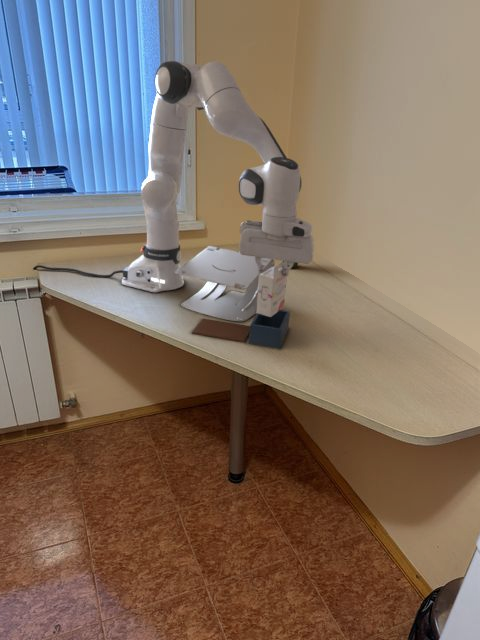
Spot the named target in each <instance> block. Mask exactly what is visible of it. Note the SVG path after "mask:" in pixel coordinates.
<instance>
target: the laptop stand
mask: <svg viewBox="0 0 480 640" xmlns="http://www.w3.org/2000/svg"><path fill="white" fill-rule="evenodd" d="M261 263H262V265H265V268H264V269H265V271H266V270H268V269H270V268H272V267H275V259H268V258H262V259H261ZM258 268H259V267H258V265H257V263H256V261H255V257H254V256H247V255H241V254H240V252H239V250H233V249H229V248H224V247H222V248H221V247H218V246H214V245H208V246H207V247H206V248H204V249H203V250H202V251H200V252H199V253H197V255H195V256H194V257H192V258H191V259H190V260H188V261H187V262H186V263H184V264H183V265H182V266H180V268H179V269H177V270H176V271H175V273H177V274H180V275H182V276H185V277H189V278H193V279H197V280H201V281H205V282H206V283H205V284H204V286H203V287H202V288H201V289H200V290H199V291H197V293H195V294H193V295H192V296H190V297H188V298H187V299H186V300H184V301H182V303H181V307H183V308H185V309H187V310H190V311H193V312H195V313H197V314H201V315H205V316H209V317H213V318H216V319H221V320H226V321H230V322H236V323H240V322H241V323H242V322H247V320H249V319H251V317H253V316H254V315H256V314H257V313H256V312H257V298H258V282H259V274H261V273H260V272H258ZM265 271H264V272H265ZM228 287H230V288H234V289H237V290H242V291H243V290H244V291H245V290H246V291H245V293H244V292H239V291H236V290H229V291H228V292H226V293H225V294H224V292H225V291H226V289H227V288H228ZM222 294H223V295H222Z"/></svg>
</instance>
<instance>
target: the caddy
mask: <svg viewBox="0 0 480 640" xmlns="http://www.w3.org/2000/svg"><path fill="white" fill-rule="evenodd" d="M290 316H291V310H284V309H283V310H282V309H281V310H280V311H278V312H277V313H276V314H274V315H273V316H272V317H268V316H265V315H261V314H258V313H255V316H254V317H253V319H252V321H251V322H250V324H249V326H250V333H249V334H248V338H249V339H248V344H249V345H250V344H251V345H256V346H262V347H267V348H273V349H278V350H279V349H281V347H282V344H283V342H284V340H285V337H286V335H287V333H288V330H289V324H290Z"/></svg>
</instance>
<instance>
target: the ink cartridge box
mask: <svg viewBox="0 0 480 640" xmlns="http://www.w3.org/2000/svg"><path fill="white" fill-rule="evenodd" d="M284 268H286V269H287V268H288V261H284V262H283V261H281V262H280V263H279V264H277V265H275V266H274V267H272V268H270V269H268V270H266V271H265V272H263V273H261V274H259V282H258V298H257V312H256V313H255V314H257V313H258V314H261V315H265V316H268V317H272V316H273V315H274V314H276V313H277V312H278V311H280V310H282V309H284V308H285V301H286V300H285V299H286V292H287V291H286V290H287V281H288V277H286V276H283V270H284Z"/></svg>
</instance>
